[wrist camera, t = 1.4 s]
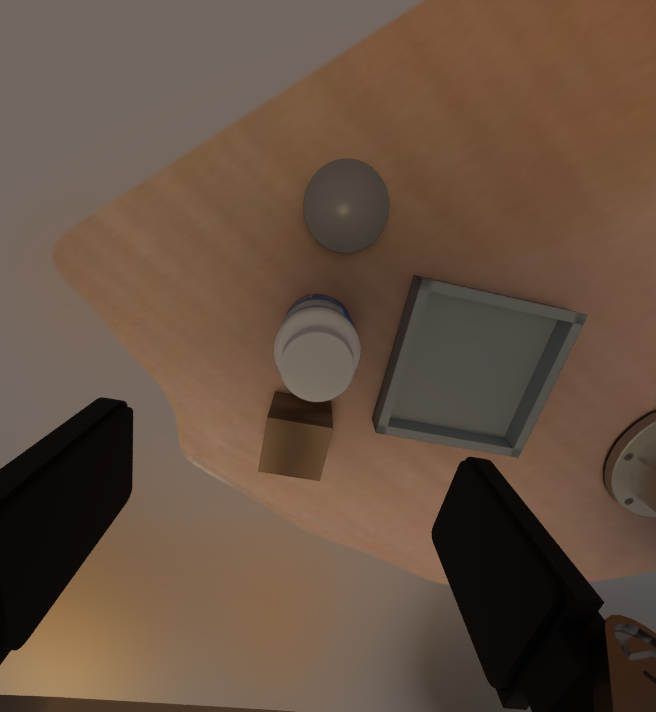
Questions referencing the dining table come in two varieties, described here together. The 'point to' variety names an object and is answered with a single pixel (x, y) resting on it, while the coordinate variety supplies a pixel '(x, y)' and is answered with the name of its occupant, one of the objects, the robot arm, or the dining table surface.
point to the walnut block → (296, 437)
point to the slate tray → (472, 367)
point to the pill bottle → (317, 349)
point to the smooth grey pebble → (346, 205)
